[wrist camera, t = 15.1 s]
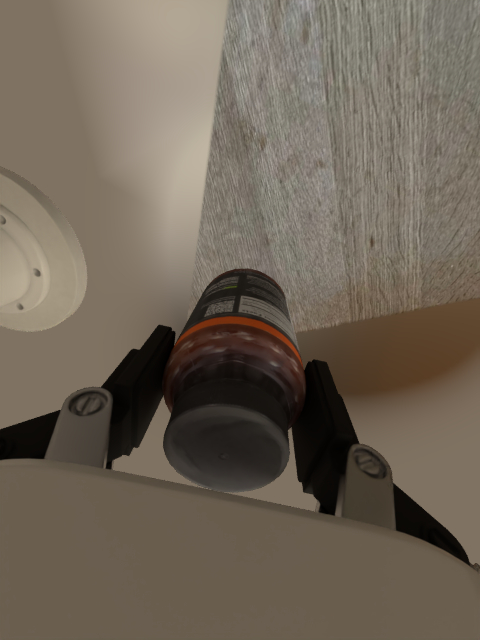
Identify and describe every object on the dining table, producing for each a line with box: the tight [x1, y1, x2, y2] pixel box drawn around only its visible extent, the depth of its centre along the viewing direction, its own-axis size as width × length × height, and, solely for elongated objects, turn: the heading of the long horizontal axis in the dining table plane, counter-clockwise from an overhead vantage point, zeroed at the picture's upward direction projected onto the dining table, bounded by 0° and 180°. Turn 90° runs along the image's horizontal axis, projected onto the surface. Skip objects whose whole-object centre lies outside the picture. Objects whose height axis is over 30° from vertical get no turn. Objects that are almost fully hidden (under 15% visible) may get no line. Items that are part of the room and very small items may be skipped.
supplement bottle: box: [162, 269, 307, 492], centre depth 13 cm, size 6×6×11 cm
